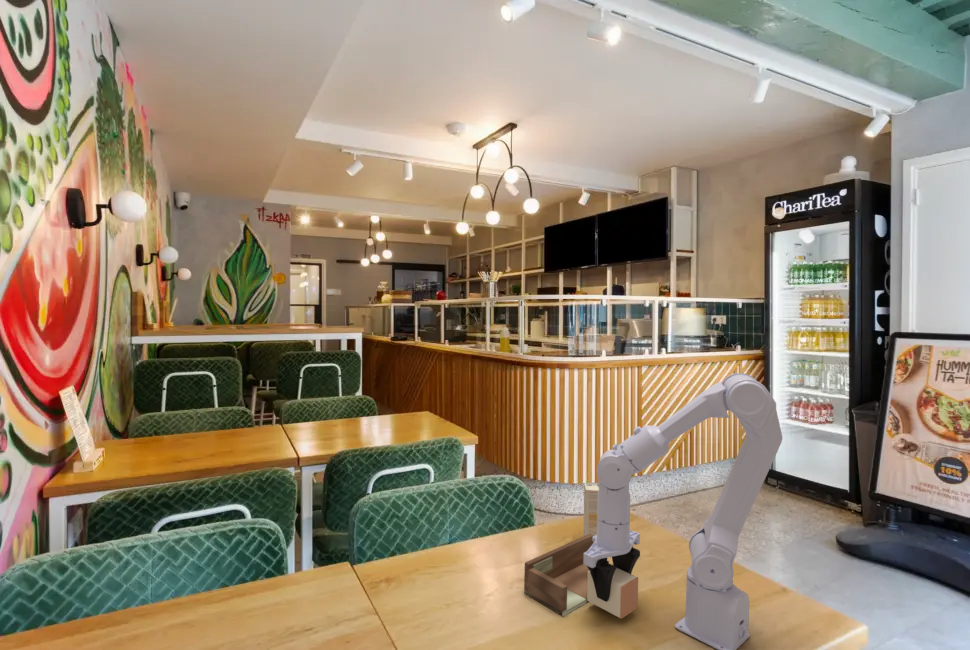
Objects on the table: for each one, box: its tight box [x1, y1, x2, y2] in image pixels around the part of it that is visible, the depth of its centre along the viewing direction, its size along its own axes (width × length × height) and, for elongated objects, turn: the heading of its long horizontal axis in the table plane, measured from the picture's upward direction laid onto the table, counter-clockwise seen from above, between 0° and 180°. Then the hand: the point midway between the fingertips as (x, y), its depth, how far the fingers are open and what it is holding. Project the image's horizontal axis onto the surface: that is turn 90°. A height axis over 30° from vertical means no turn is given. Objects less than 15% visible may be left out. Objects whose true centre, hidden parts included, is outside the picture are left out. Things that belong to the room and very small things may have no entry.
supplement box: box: [583, 482, 599, 543], centre depth 122 cm, size 8×5×13 cm, turn 84°
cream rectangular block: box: [587, 568, 639, 619], centre depth 94 cm, size 7×5×6 cm
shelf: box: [523, 534, 593, 617], centre depth 102 cm, size 10×20×6 cm, turn 132°
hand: (612, 593), depth 94 cm, fingers closed on cream rectangular block, 5 cm apart
